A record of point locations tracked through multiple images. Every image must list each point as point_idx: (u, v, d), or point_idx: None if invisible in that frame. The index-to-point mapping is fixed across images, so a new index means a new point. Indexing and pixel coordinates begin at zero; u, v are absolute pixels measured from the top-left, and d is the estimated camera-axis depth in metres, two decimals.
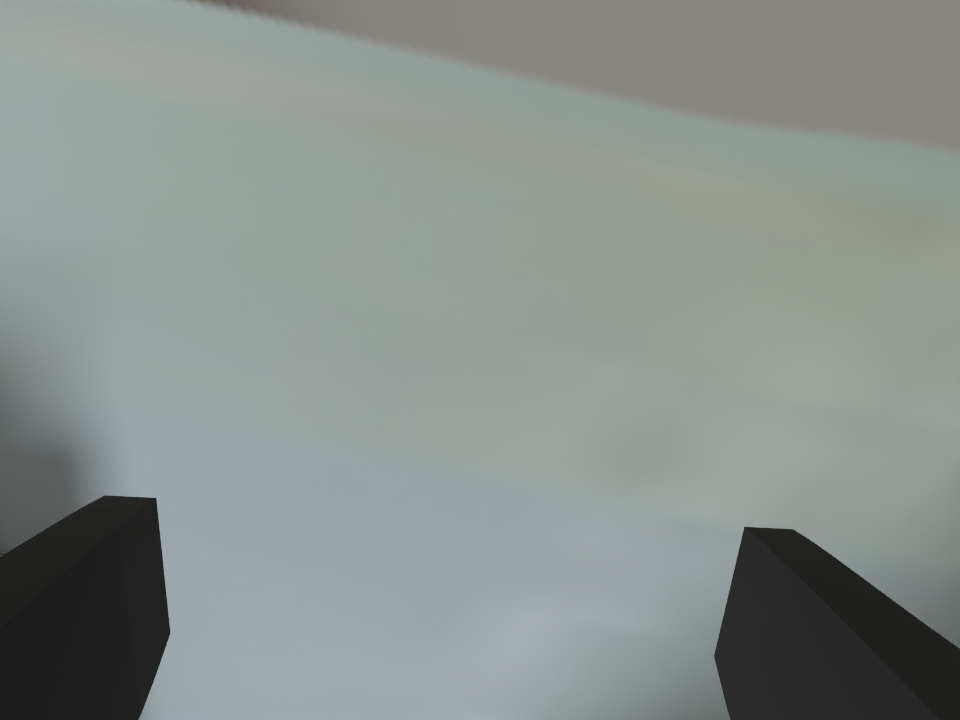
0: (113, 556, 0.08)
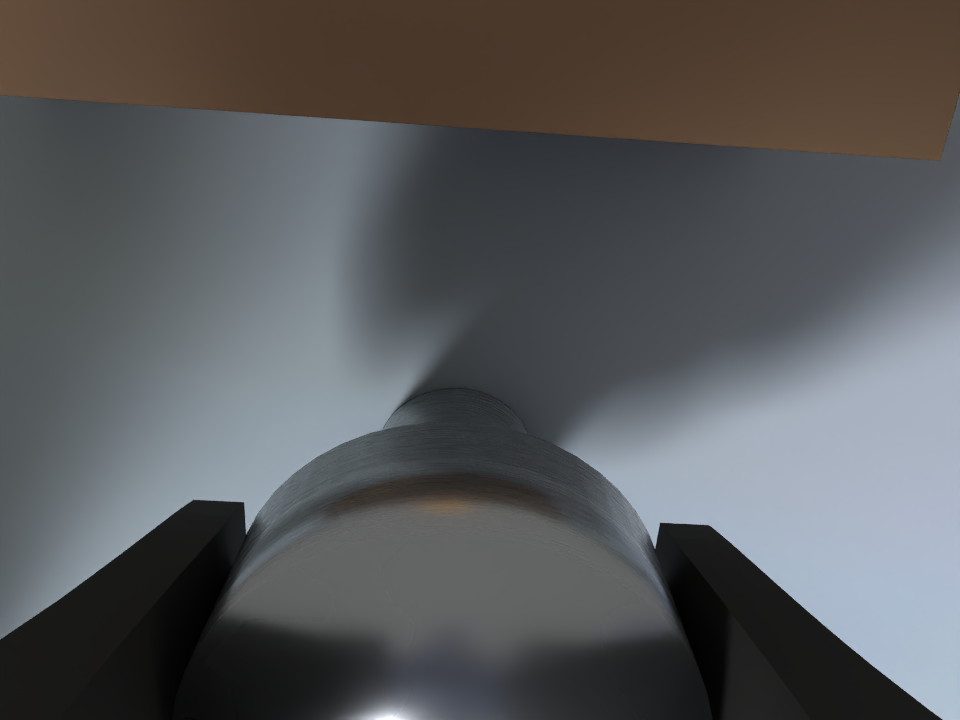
0: (213, 561, 0.08)
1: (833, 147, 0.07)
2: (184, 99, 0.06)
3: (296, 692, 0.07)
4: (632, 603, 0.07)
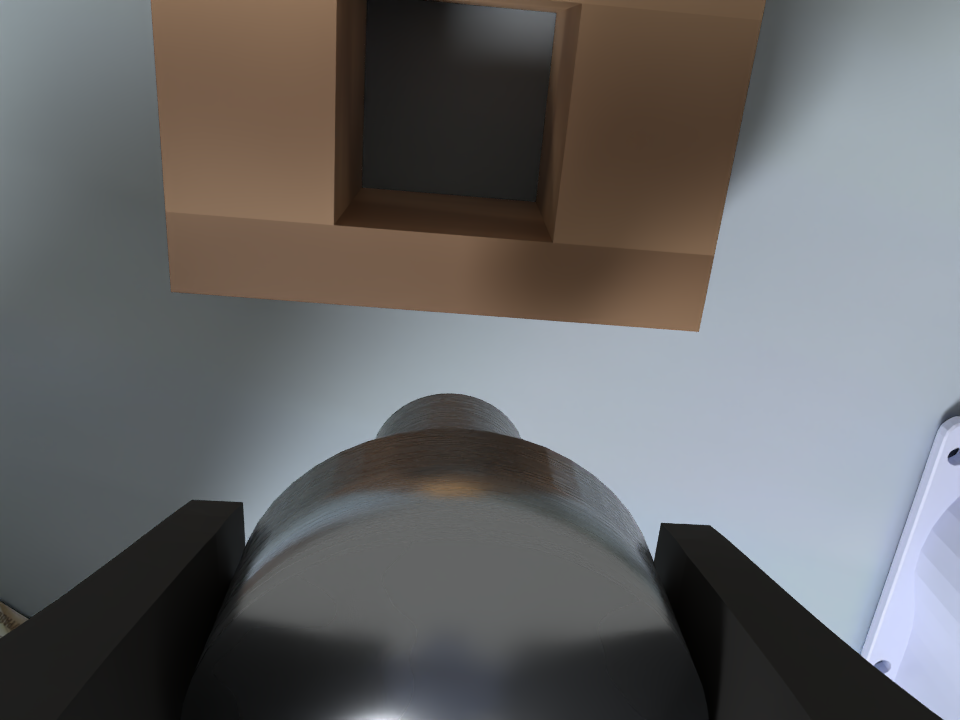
0: (211, 561, 0.08)
1: (649, 325, 0.15)
2: (358, 302, 0.15)
3: (301, 697, 0.07)
4: (628, 603, 0.07)
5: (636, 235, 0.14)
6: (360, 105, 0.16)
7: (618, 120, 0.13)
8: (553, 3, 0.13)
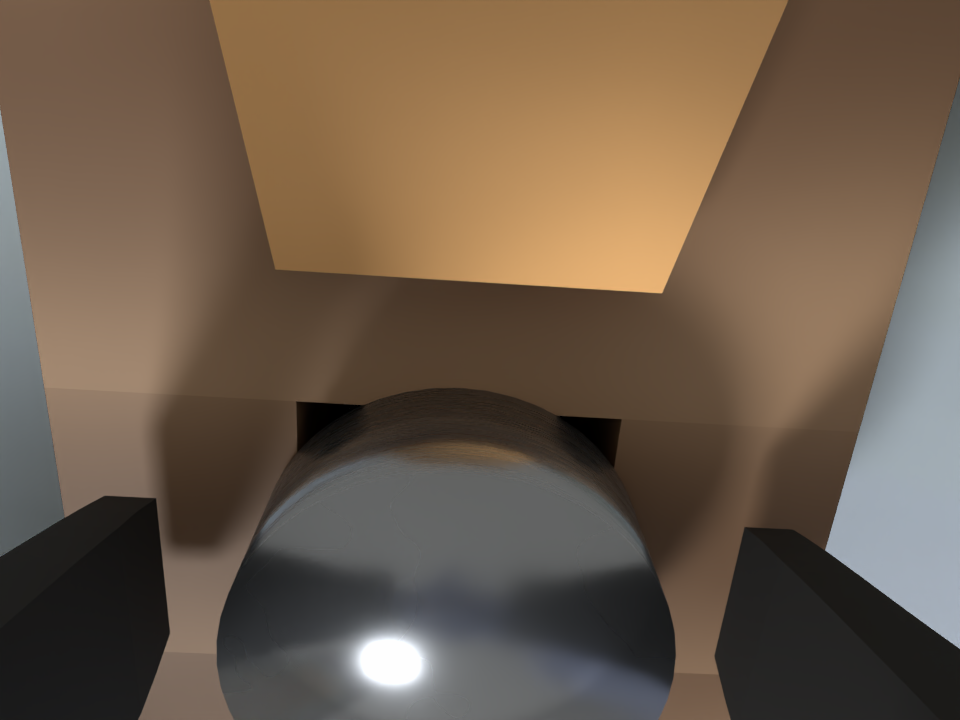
0: (112, 557, 0.08)
1: None
2: None
3: (323, 612, 0.08)
4: (602, 531, 0.08)
5: (690, 659, 0.11)
6: None
7: (668, 542, 0.10)
8: None
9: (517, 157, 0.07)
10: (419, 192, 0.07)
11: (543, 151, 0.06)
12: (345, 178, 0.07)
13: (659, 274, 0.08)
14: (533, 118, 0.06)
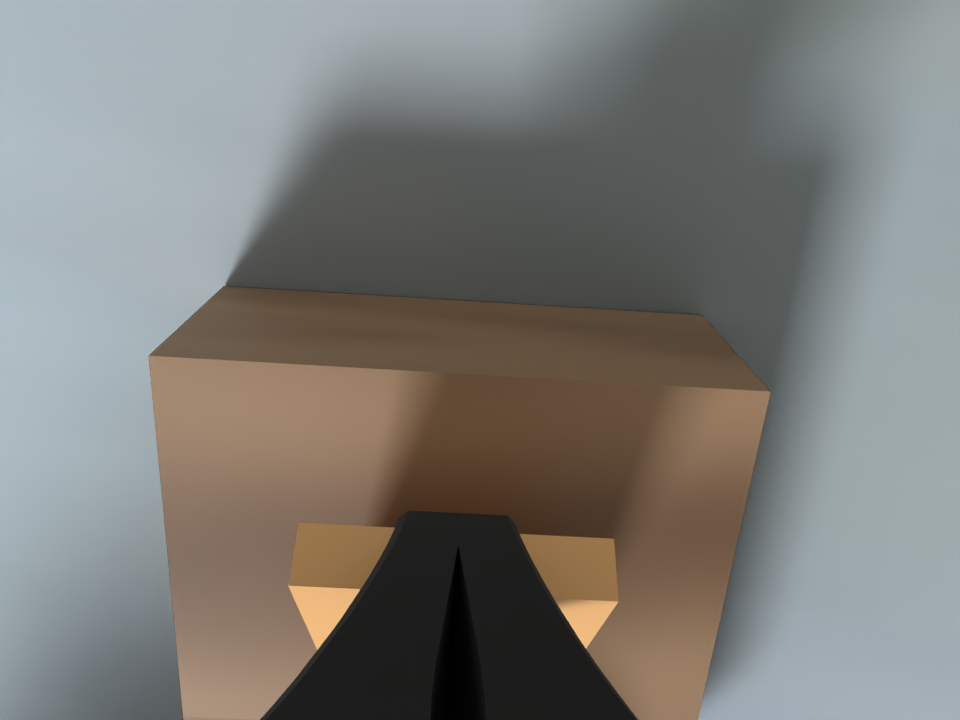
0: (455, 572, 0.08)
1: None
2: None
3: None
4: None
5: None
6: None
7: None
8: None
9: None
10: None
11: None
12: None
13: None
14: None
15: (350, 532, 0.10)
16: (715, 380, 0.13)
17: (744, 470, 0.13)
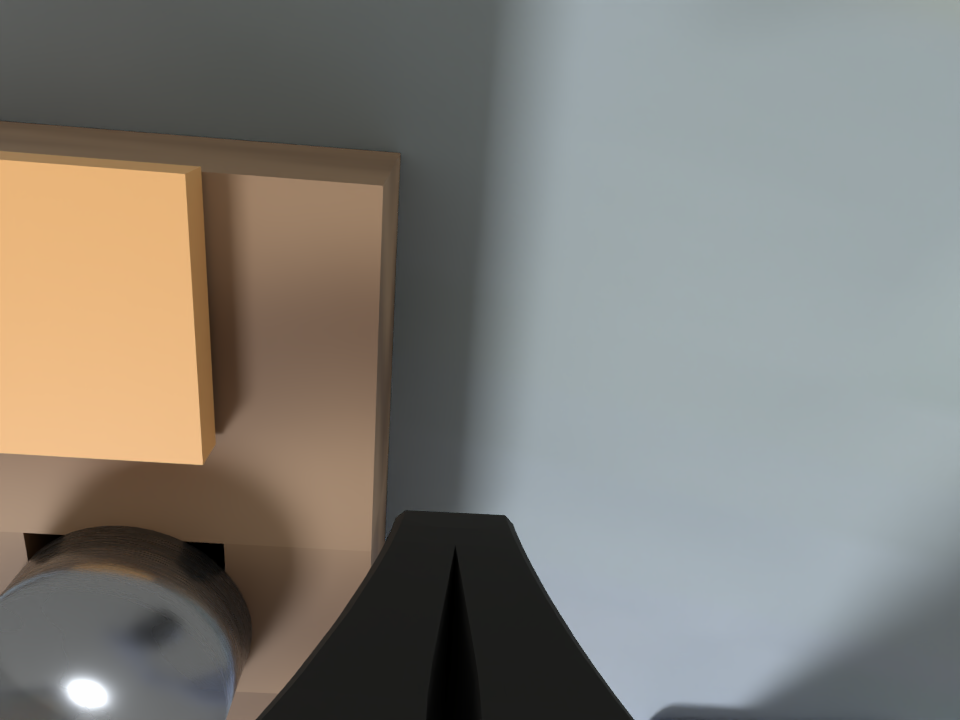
0: (452, 573, 0.08)
1: None
2: None
3: (13, 664, 0.14)
4: (163, 621, 0.14)
5: None
6: None
7: (269, 614, 0.17)
8: None
9: (97, 372, 0.13)
10: (51, 394, 0.13)
11: (109, 368, 0.13)
12: (12, 386, 0.13)
13: (195, 449, 0.14)
14: (99, 349, 0.13)
15: None
16: (338, 178, 0.13)
17: (371, 268, 0.14)
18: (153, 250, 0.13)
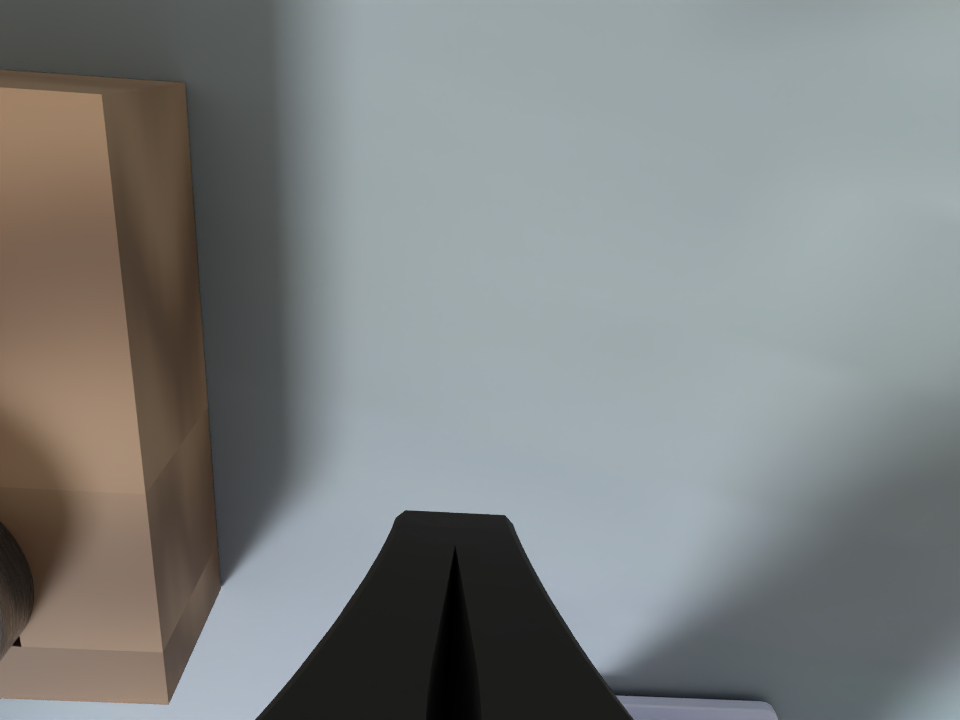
0: (452, 573, 0.08)
1: (124, 701, 0.17)
2: None
3: None
4: None
5: (90, 640, 0.17)
6: None
7: (48, 563, 0.16)
8: None
9: None
10: None
11: None
12: None
13: None
14: None
15: None
16: (61, 89, 0.13)
17: (102, 185, 0.13)
18: None
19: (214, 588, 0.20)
